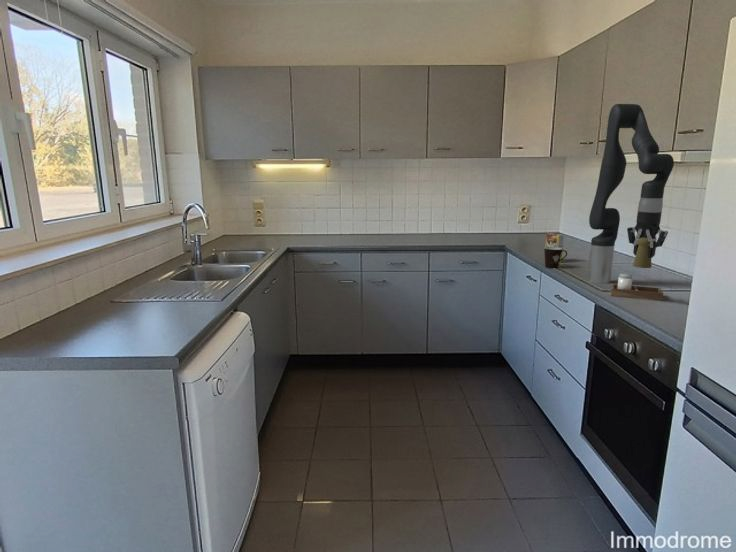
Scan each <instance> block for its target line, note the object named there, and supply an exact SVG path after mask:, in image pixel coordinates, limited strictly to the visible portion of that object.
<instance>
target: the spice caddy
mask: <svg viewBox="0 0 736 552" xmlns="http://www.w3.org/2000/svg"><path fill="white" fill-rule="evenodd" d="M617 287H618V283H611V285H610V297H612V298H613V297H614V298H623V299H625V298H626V299H636V300H645V301H657V302H663V299H664V295H665V293H664V291H663V290H662V287H653V286H641V285H632V287H631V290H625V289H617Z"/></svg>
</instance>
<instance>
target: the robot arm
mask: <svg viewBox="0 0 736 552" xmlns="http://www.w3.org/2000/svg"><path fill="white" fill-rule="evenodd" d="M609 110H610V111H609V114H608V119H607V129H606V134H605V135H606V136H605V137H606V138H605V145H604V151H603V155H602V160H601V163H600V170H599V176H598V182H597V186H596V189H595V190H596V191H595V195H594V199H593V202H592V205H591V209H590V213H589V218H588V219H589V220H588V222H589V226H590V228H591V230H596V231H597V230H602V231H601V233H599V234H598V235H595V236H594V237H592V238H591V241H590V252H589V261H588V272H587V279H586V280H587V282H590V283H594V284H595V283H596V284H610V283H611V280H612V279H611V278H612V273H613V272H612V270H613V261H614V254H615V253H614V252H615V246H616V245H615V243H616V241H617V238H618V233H619V227H620V221H621V218H620V217H621V216H620V212H619V210H618V209H617V208H614V207H606V206H607V203H608V201H609V199H610V196H611V195H612V194H613V193H614V191H615V190H616V189H617V188H618V186H620V185H621V182H622V181H623V179H624V177H625V173H626V168H627V158H626V156H625V153H624V151H623V149H622V146H621V143H620V129H632V130H633V131H635V132H634V133H633V135H632V138H631V146H632V148H633V150H634V152H635V153H636V155H637V161H638V162H637V163H638V170H639V171H640V173H642V174H644V175H655V177H654V178H653V179H652V180H647V181H645V182H643V183H642V184H641V189H640V197H639V201H638V206H637V215H636V221H635V222H636V225H634V226H633V227H632V226H631V227H627V229H626V231H627V238H628V243H629V244H632V245H633V249H632V251H633V252H632V253H633V255H634V256H636V253H637V249H638V244H637V241H638V239H639V238H642V237H644V238H648V241H649V242H650V248H649V253H648V257H649V258H651V259H652V258H654V257H655V256H656V250H657V248H658V247H662V246H663V244H664V242H665V240H666V238H667V236H668V234H669V232H668V230H663V229H661V228H660V224H661V221H662V213H663V207H664V205H663V204H664V195H665V194H664V192H665V187H666V184H667V182H668V180H669V177H670V175H671V174H672V171H673V169H674V166H675V163H674V162H675V161H674V158H673V156H672V155H671V154H669V153H659V152H660V146H659V144H658V142H657V141H656V140H655V138H654V137H653V136H652V135H653V134H651V131H650V128H649V125H648V122H647V119H646V116H645V113H644V110H643V107H641V105H640V104H638V103H637V104H636V103H616V104H614V105H613V106H612V107H611V108H610V109H609ZM657 235H658V238H657Z"/></svg>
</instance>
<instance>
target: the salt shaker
mask: <svg viewBox="0 0 736 552" xmlns="http://www.w3.org/2000/svg"><path fill="white" fill-rule="evenodd" d="M617 280H618V281H617V284H618V287H617V289H625V290H631V287H632V286H633V274H631V273H625V272H623V273H622V272H621V273H619V275H618V279H617Z"/></svg>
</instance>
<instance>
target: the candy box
mask: <svg viewBox="0 0 736 552" xmlns="http://www.w3.org/2000/svg"><path fill="white" fill-rule="evenodd" d="M545 236H546V237H545V247H558V248H562V250H564V241H565V238H564V237H565V235H563V234H557V233H552V232H551V233H550V232H549V233H546V235H545ZM545 247H544V248H545ZM563 252H564V251H563ZM563 252H562V253H561V257H560V259H562V258H563ZM560 262H561V263H562V262H563V260H561V261H560Z"/></svg>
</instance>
